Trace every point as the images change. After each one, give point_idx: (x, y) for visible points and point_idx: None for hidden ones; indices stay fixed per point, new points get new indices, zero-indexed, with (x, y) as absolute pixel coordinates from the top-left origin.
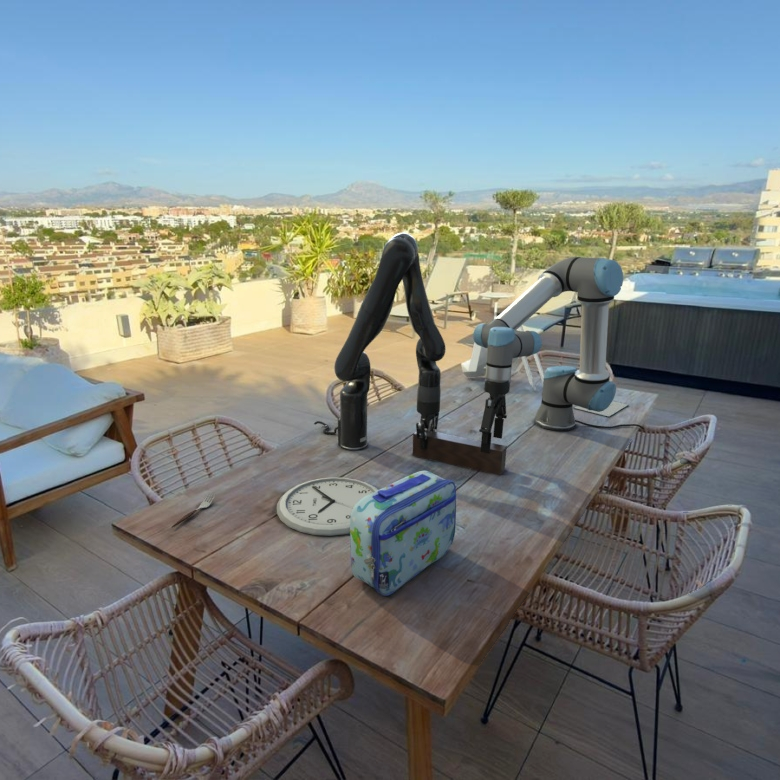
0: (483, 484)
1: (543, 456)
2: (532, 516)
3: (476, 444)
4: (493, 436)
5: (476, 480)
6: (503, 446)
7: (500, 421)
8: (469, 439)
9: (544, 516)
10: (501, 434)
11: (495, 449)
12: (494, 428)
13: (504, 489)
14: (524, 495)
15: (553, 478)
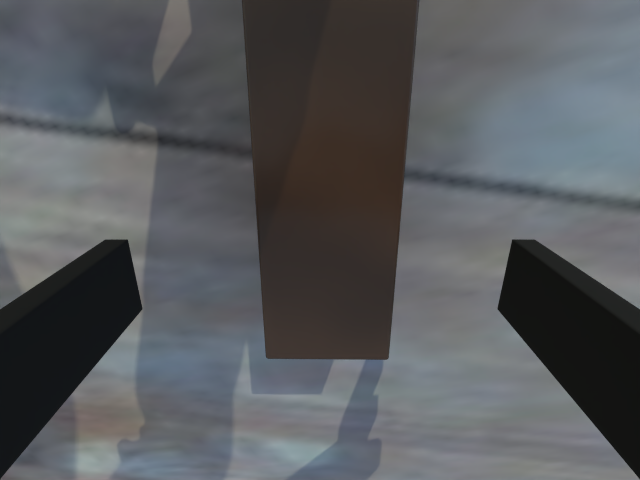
0: (143, 226)
1: None
2: None
3: (296, 136)
4: (516, 244)
5: (161, 182)
6: (366, 344)
7: (634, 429)
8: (393, 18)
9: (65, 462)
10: (517, 331)
11: (276, 309)
12: (569, 289)
13: (160, 318)
14: (162, 390)
15: (369, 447)
